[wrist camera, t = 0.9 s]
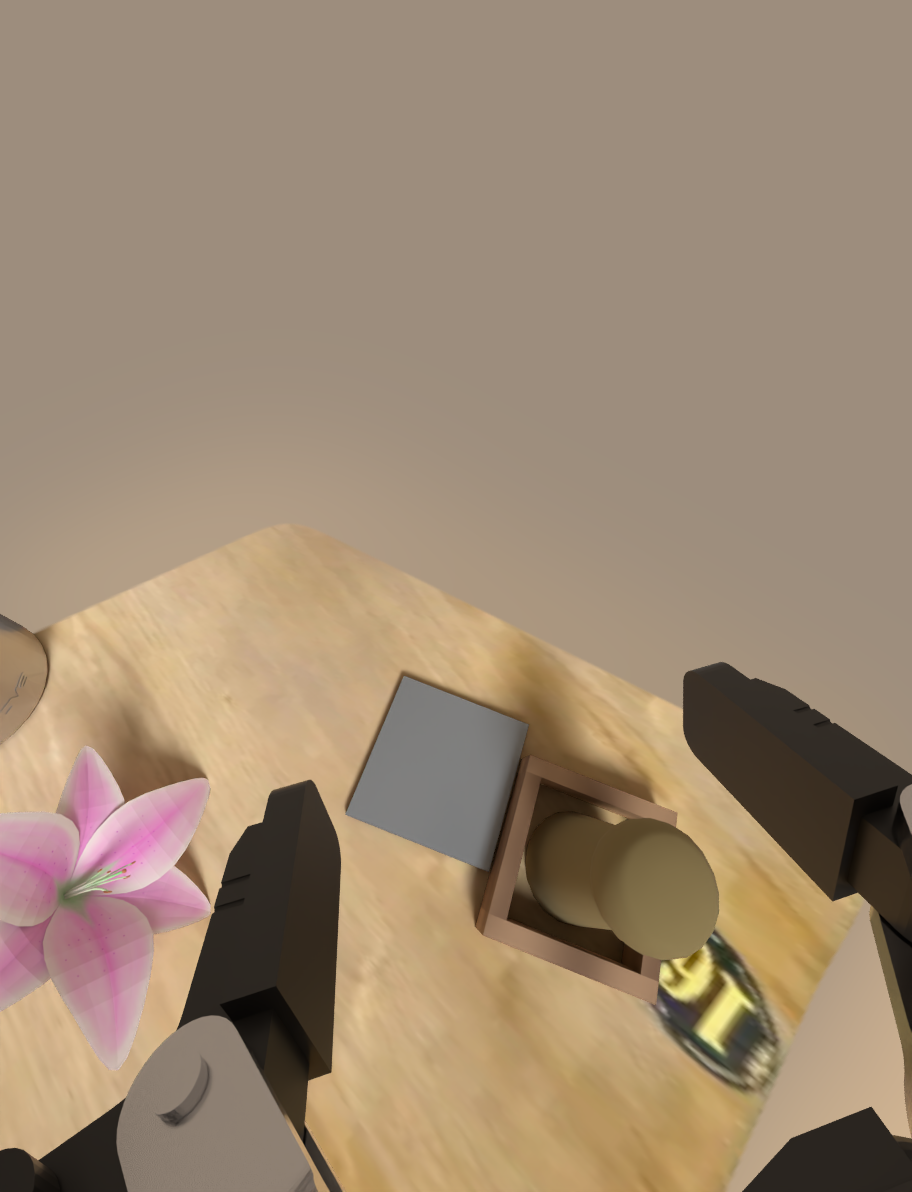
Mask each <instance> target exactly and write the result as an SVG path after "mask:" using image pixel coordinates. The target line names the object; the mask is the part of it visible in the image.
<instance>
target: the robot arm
mask: <svg viewBox="0 0 912 1192" xmlns="http://www.w3.org/2000/svg"><path fill="white" fill-rule="evenodd" d="M46 677H47V659H46V655H45V652H44V650H43V647H42V644H41V643H40V642H39V641H38V639H37V638H36V637H35V636H34V634H33V633H31V632H30V631H28V630H27V629H26V628H24V627H23V626H21V625H19V624H17V623H16V622H14V621H12V620H10V619H8V618H7V617H5V616H3V615H1V614H0V744H1V743H2V742H4V741H5V740H6V739H7V738H9V737H10V736H11V735H12V734H14V733H15V732H16V730H17V729H18V728H19V727H20V726H21V725H22V724H23V723H24V722H25V721H26V720H27V719H28V717H29V716H30V714H31V713H32V711H33V710H34V708H35V707H36V705H37V704H38V702H39V699H40V697H41V695H42V692H43V690H44V687H45V683H46ZM683 730H684V734H685V738H686V741H687V743H688V745H689V747H690V749H691V750H692V752H693V753H694V755H695V756H696V757H697V758H698V759H699V760H700V761H701V763H702V764H703V765H704V766H705V767H706V768H707V769H708V770H709V771H710V772H711V773H712V774H713V775H714V776H715V777H716V778H717V779H718V781H719V782H720V783H721V784H722V785H723V786H724V787H725V788H726V789H727V790H728V791H729V792H730V793H731V794H732V795H733V796H734V797H735V799H736V800H737V801H738V802H739V803H740V804H741V805H742V806H743V807H744V808H745V809H746V810H747V811H748V812H749V813H750V814H751V815H752V817H753V818H754V819H755V820H756V821H757V822H758V823H759V824H760V825H761V826H762V827H763V828H764V829H765V830H766V831H767V832H768V833H769V835H770V836H771V837H772V838H773V839H774V840H775V841H776V842H777V843H778V844H779V845H780V846H781V847H782V848H783V849H784V850H785V852H786V853H787V854H788V855H789V856H790V857H791V858H792V859H793V860H794V861H795V862H796V863H797V864H798V865H799V866H800V867H801V868H802V870H803V871H804V872H805V873H806V874H807V875H808V876H809V877H810V878H811V879H812V880H813V881H814V882H815V883H816V884H817V885H818V886H819V888H820V889H821V890H822V891H823V892H824V893H825V894H826V895H827V896H828V897H829V898H830V899H831V900H832V901H835V900H838V899H841V898H844V897H847V896H849V895H852V894H855V893H859V894H860V895H861V896H862V897H863V898H864V899H865V900H866V901H867V902H868V903H869V904H870V905H871V907H870V914H869V915H870V922H871V926H872V930H873V934H874V937H875V941H876V945H877V949H878V953H879V957H880V961H881V965H882V969H883V973H884V976H885V981H886V985H887V989H888V993H889V997H890V1000H891V1004H892V1008H893V1012H894V1016H895V1020H896V1024H897V1028H898V1032H899V1036H900V1040H901V1044H902V1050H903V1056H904V1066H905V1067H904V1069H905V1073H904V1074H905V1075H904V1091H905V1102H906V1111H907V1117H908V1123H909V1128H910V1133H911V1137H912V775H911V774H910V773H908V772H907V771H905V770H904V769H902V768H901V767H899V766H898V765H896V764H895V763H893V762H892V761H891V760H889V759H887V758H886V757H885V756H883V755H881V754H880V753H879V752H877V751H876V750H874V749H873V748H871V747H870V746H868V745H867V744H865V743H864V742H862V741H861V740H860V739H858V738H856V737H855V736H854V735H852V734H851V733H849V732H848V731H846V730H845V729H843V728H842V727H840V726H838V725H837V724H836V723H833V724H832V723H831V722H830V719H828V718H827V717H825V716H824V715H823V714H821V713H820V712H818V711H817V710H815V709H810V707H809V705H808V704H806V703H805V702H803V701H802V700H800V699H799V698H797V697H796V696H794V695H793V694H791V693H790V692H788V691H787V690H786V689H783V688H781V687H778V686H775V685H772V684H770V683H767V682H765V681H762V680H759V679H757V678H755V679H751V680H750V679H749V678H747V677H746V676H744V675H743V674H742V673H740V672H739V671H737V670H736V669H735V668H733V667H732V666H730V665H729V664H727V663H724V662H719V663H716V664H712V665H709V666H705V667H702V668H698V669H695V670H692V671H688V672H687V673H686V674H685V676H684V680H683ZM340 874H341V855H340V847H339V842H338V838H337V834H336V831H335V829H334V826H333V824H332V822H331V820H330V817H329V815H328V813H327V810H326V808H325V806H324V804H323V801H322V799H321V797H320V794H319V792H318V790H317V788H316V785H315V784H314V782H313V781H312V780H307V781H303V782H300V783H297V784H293V785H290V786H286V787H283V788H279V789H276V790H273V791H272V792H271V793H270V795H269V798H268V802H267V806H266V811H265V815H264V819H263V822H262V823H258V824H255V825H252V826H248V827H247V829H246V830H245V832H244V833H243V835H242V836H241V838H240V839H239V841H238V842H237V844H236V845H235V847H234V848H233V850H232V851H231V853H230V855H229V858H228V861H227V865H226V868H225V872H224V875H223V878H222V882H221V883H222V888H220V889H219V892H218V895H217V899H216V902H215V906H214V909H215V912H214V913H213V914H212V916H211V919H210V923H209V926H208V929H207V933H206V936H205V940H204V943H203V946H202V950H201V953H200V957H199V960H198V963H197V967H196V970H195V974H194V977H193V980H192V984H191V987H190V991H189V994H188V997H187V1001H186V1004H185V1008H184V1011H183V1014H182V1017H181V1020H180V1023H179V1026H178V1028H177V1030H176V1031H175V1032H174V1033H173V1034H172V1035H170V1036H169V1037H168V1038H167V1039H166V1040H165V1041H164V1042H163V1043H162V1044H161V1045H160V1046H159V1047H158V1048H157V1049H156V1050H155V1051H154V1053H153V1054H152V1055H151V1056H150V1058H149V1059H148V1060H147V1062H146V1063H145V1064H144V1066H143V1067H142V1069H141V1070H140V1072H139V1073H138V1075H137V1077H136V1078H135V1080H134V1082H133V1084H132V1086H131V1088H130V1090H129V1092H128V1094H127V1097H126V1098H125V1099H124V1100H122V1101H121V1102H120V1103H119V1104H117V1105H116V1106H115V1107H113V1108H112V1109H111V1110H109V1111H108V1112H107V1113H105V1114H104V1115H102V1116H101V1117H100V1118H98V1119H97V1120H95V1121H94V1122H92V1123H91V1124H90V1125H88V1126H87V1127H85V1128H84V1129H82V1130H81V1131H80V1132H78V1133H77V1134H75V1135H74V1136H73V1137H71V1138H70V1139H68V1140H67V1141H65V1142H64V1143H63V1144H61V1145H60V1146H58V1147H57V1148H55V1149H54V1150H53V1151H51V1152H50V1153H48V1154H47V1155H46V1156H44V1157H43V1158H41V1159H40V1160H37V1159H35V1158H34V1157H32V1156H31V1155H30V1154H28V1153H27V1152H25V1151H24V1150H21V1149H18V1148H10V1149H4V1150H1V1151H0V1192H346V1191H345V1189H344V1187H343V1186H342V1184H341V1182H340V1180H339V1179H338V1177H337V1175H336V1173H335V1172H334V1170H333V1168H332V1166H331V1165H330V1163H329V1161H328V1159H327V1158H326V1156H325V1154H324V1152H323V1151H322V1149H321V1147H320V1145H319V1144H318V1142H317V1140H316V1138H315V1137H314V1135H313V1133H312V1131H311V1130H310V1128H309V1126H308V1124H307V1122H306V1121H305V1112H306V1099H307V1087H308V1080H311V1079H314V1078H317V1077H320V1076H323V1075H326V1074H328V1073H331V1069H332V1047H333V1025H334V1004H335V982H336V961H337V939H338V917H339V896H340ZM742 1192H912V1139H911V1138H906V1137H900V1136H895V1135H892V1134H891V1133H890V1132H889V1130H888V1129H887V1128H886V1126H885V1125H884V1123H883V1122H882V1121H881V1119H880V1118H879V1117H878V1115H877V1114H876V1113H875V1111H874V1110H873V1108H872V1107H869V1108H867V1109H864V1110H862V1111H859V1112H857V1113H854V1114H852V1115H849V1116H846V1117H844V1118H842V1119H839V1120H836V1121H834V1122H832V1123H829V1124H826V1125H824V1126H821V1127H819V1128H816V1129H814V1130H811V1131H809V1132H806V1133H804V1134H801V1135H798V1136H796V1137H793V1138H791V1139H790V1140H789V1141H788V1142H787V1143H786V1144H785V1145H784V1147H783V1148H782V1149H781V1150H780V1151H779V1152H778V1153H777V1154H776V1155H775V1156H774V1158H773V1159H772V1160H771V1161H770V1162H769V1163H768V1164H767V1165H766V1166H765V1167H764V1169H763V1170H762V1171H761V1172H760V1173H759V1174H758V1175H757V1176H756V1177H755V1178H754V1179H753V1181H752V1182H751V1183H750V1184H749V1185H748V1186H747V1187H746V1188H745V1189H744V1190H743V1191H742Z"/></svg>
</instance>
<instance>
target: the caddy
mask: <svg viewBox="0 0 912 1192" xmlns="http://www.w3.org/2000/svg"><path fill="white" fill-rule="evenodd" d="M540 784H543V785H545V786H548V787H550V788H553V789H555V790H558V791H560V792H563V793H565V794H568V795H570V796H573V797H575V798H578V799H581V800H583V801H586V802H588V803H591V804H593V805H596V806H598V807H601V808H603V809H606V810H608V811H611V812H613V813H616V814H618V815H621V816H624V817H626V818H629V819H638V818H652V819H656V820H659V821H663V822H666V823H669V824H671V825H673V826H674V827H676V822H677V812H674V811H672V810H669V809H667V808H664V807H662V806H659V805H657V804H654V803H651V802H649V801H646V800H644V799H641V798H639V797H636V796H634V795H631V794H629V793H626V792H624V791H621V790H618V789H616V788H613V787H611V786H608V785H606V784H603V783H601V782H598V781H596V780H593V779H591V778H588V777H585V776H583V775H580V774H578V773H575V772H573V771H570V770H568V769H565V768H563V767H560V766H558V765H555V764H552V763H550V762H547V761H545V760H542V759H540V758H537V757H535V756H532V755H529V756H527V757H525V758H522V759H521V761H520V764H519V768H518V772H517V775H516V779H515V783H514V786H513V790H512V794H511V797H510V801H509V805H508V808H507V812H506V816H505V819H504V823H503V827H502V830H501V834H500V838H499V841H498V845H497V849H496V853H495V856H494V860H493V864H492V867H491V871H490V875H489V878H488V882H487V886H486V889H485V893H484V897H483V900H482V904H481V908H480V911H479V915H478V919H477V922H476V926H475V927H476V928H477V929H478V930H479V931H480V933H481V934H482V935H484V936H486V937H489V938H491V939H493V940H496V941H498V942H501V943H503V944H506V945H508V946H511V947H513V948H516V949H518V950H521V951H523V952H526V953H528V954H531V955H533V956H536V957H538V958H541V959H543V960H546V961H548V962H550V963H553V964H555V965H558V966H560V967H563V968H565V969H568V970H570V971H573V972H575V973H578V974H580V975H583V976H585V977H588V978H590V979H593V980H595V981H598V982H600V983H602V984H605V985H607V986H610V987H612V988H615V989H617V990H620V991H622V992H625V993H627V994H630V995H632V996H635V997H637V998H640V999H642V1000H645V1001H647V1002H650V1003H652V1004H655V1005H656V1000H657V991H658V982H659V973H660V965H661V960H660V959H656V958H653V957H649V956H646V955H642V954H640V953H639V952H637V951H635V950H634V949H632V948H631V947H630V946H628V945H627V944H625V943H624V950H623V956H622V963H619V962H617V961H614V960H612V959H609V958H607V957H604V956H602V955H599V954H597V953H594V952H592V951H589V950H587V949H584V948H582V947H580V946H577V945H575V944H572V943H570V942H567V941H565V940H562V939H560V938H557V937H555V936H552V935H550V934H547V933H545V932H542V931H540V930H537V929H535V928H532V927H530V926H527V925H525V924H522V923H520V922H517V921H515V920H512V919H510V918H507V916H508V912H509V908H510V904H511V900H512V895H513V891H514V887H515V883H516V879H517V875H518V871H519V867H520V863H521V859H522V855H523V851H524V847H525V843H526V839H527V835H528V831H529V827H530V823H531V819H532V815H533V811H534V806H535V802H536V798H537V794H538V790H539V786H540Z"/></svg>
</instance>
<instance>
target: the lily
mask: <svg viewBox="0 0 912 1192" xmlns="http://www.w3.org/2000/svg"><path fill="white" fill-rule="evenodd" d="M209 793H210V785H209V781H208V779H206V778H194V779H190V780H186V781H182V782H178V783H175V784H172V785H168V786H165V787H162V788H159V789H156V790H153V791H150V792H148V793H145V794H143V795H141V796H139V797H137V798H135V799H133V800H130V801H128V802H127V803H126V804H125V801H124V798H123V796H122V793H121V791H120V788H119V786H118V784H117V782H116V780H115V779H114V777H113V775H112V773H111V772H110V770H109V768H108V767H107V765H106V764H105V763H104V761H103V760H102V758H101V757H100V756H99V755H98V753H97V752H96V751H95V750H94V749H93V748H91V747H89V746H87V745H86V746H85V747H83V748H82V749H81V750H80V752H79V754H78V756H77V758H76V760H75V762H74V765H73V767H72V769H71V772H70V774H69V776H68V779H67V782H66V784H65V787H64V790H63V792H62V795H61V798H60V801H59V804H58V808H57V811H56V813H49V812H14V813H0V1012H1V1011H3V1010H4V1009H6V1008H8V1007H9V1006H11V1005H13V1004H14V1003H16V1002H18V1001H19V1000H21V999H22V998H24V997H25V996H27V995H28V994H30V993H31V992H33V991H34V990H36V989H37V988H39V987H40V986H41V985H43V984H44V983H45V982H46V981H48V980H49V979H50V978H51V980H52V981H53V983H54V985H55V987H56V989H57V990H58V992H59V994H60V996H61V998H62V999H63V1001H64V1002H65V1004H66V1006H67V1007H68V1009H69V1010H70V1012H71V1014H72V1015H73V1017H74V1019H75V1020H76V1022H77V1024H78V1025H79V1027H80V1029H81V1031H82V1032H83V1034H84V1036H85V1038H86V1039H87V1041H88V1042H89V1044H90V1046H91V1047H92V1049H93V1050H94V1052H95V1054H96V1055H97V1057H98V1058H99V1060H100V1061H101V1062H102V1063H103V1064H104V1065H105V1066H106V1067H107V1068H108V1069H109V1070H119V1068H120V1067H121V1066H122V1064H123V1063H124V1061H125V1060H126V1059H127V1057H128V1054H129V1051H130V1049H131V1046H132V1043H133V1041H134V1038H135V1036H136V1032H137V1028H138V1025H139V1021H140V1018H141V1014H142V1010H143V1007H144V1003H145V998H146V993H147V989H148V984H149V980H150V975H151V968H152V961H153V954H154V943H153V934H158V933H163V932H167V931H171V930H174V929H178V928H181V927H184V926H187V925H190V924H193V923H195V922H198V921H200V920H202V919H204V918H206V917H208V916H209V915H210V913H211V912H210V907H211V905H210V903H209V901H208V900H207V898H206V896H205V895H204V894H203V893H202V892H201V890H200V889H199V888H198V887H197V886H196V885H195V884H194V883H193V882H192V881H191V880H190V879H189V878H188V877H187V876H186V875H185V874H184V873H183V872H181V871H180V870H179V869H177V868H176V867H175V866H174V865H175V864H176V862H177V861H178V860H179V858H180V857H181V855H182V854H183V853H184V851H185V850H186V848H187V847H188V845H189V843H190V841H191V839H192V837H193V835H194V833H195V831H196V829H197V826H198V824H199V822H200V819H201V817H202V815H203V812H204V809H205V806H206V803H207V801H208V797H209Z"/></svg>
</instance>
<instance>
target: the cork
mask: <svg viewBox="0 0 912 1192" xmlns="http://www.w3.org/2000/svg"><path fill="white" fill-rule="evenodd" d="M525 864H526V873H527V880H528V883H529V885H530V888H531V890H532V893H533V896H534V897H535V899H536V900H537V901H538V903H539V904H540V905H541V907H542V908H543V909H544V911H545V912H547V913H548V914H549V915H551V916H552V917H554V918H555V919H556V920H558V921H560V922H563V923H567V924H570V925H574V926H582V927H590V928H599V929H607V930H612V931H613V932H614V934H615V935H616V936H617V937H618V939H620V940H621V941H623V942H624V943H625V944H627V945H628V946H630V947H631V948H632V949H634V950H635V951H637V952H639V953H640V954H642V955H646V956H649V957H653V958H656V959H660V960H670V959H678V958H686V957H688V956H690V955H691V954H693V953H695V952H696V951H698V950H699V949H701V948H702V947H703V945H704V944H705V943H706V941H707V940H708V938H709V937H710V935H711V934H712V933H713V931H714V928H715V924H716V921H717V917H718V914H719V892H718V888H717V884H716V880H715V876H714V873H713V871H712V869H711V867H710V865H709V863H708V861H707V859H706V858H705V856H704V854H703V852H702V851H701V850H700V848H699V847H698V846H697V845H696V844H695V843H694V842H693V840H692V839H691V838H690V837H689V836H688V835H686V834H685V833H683V832H682V831H680V830H679V829H677V828H676V827H674V826H673V825H671V824H669V823H666V822H663V821H659V820H656V819H652V818H638V819H627V820H625V821H623V822H621V823H619V824H617V825H613V824H610V823H607V822H604V821H601V820H598V819H595V818H592V817H589V816H586V815H583V814H579V813H576V812H558V813H556V814H554V815H552V816H550V817H548V818H546V819H545V820H544V821H543V822H542V823H541V824H540V825H539V826H538V827H537V828H536V829H535V830H534V832H533V834H532V836H531V839H530V841H529V843H528V846H527V853H526V859H525Z"/></svg>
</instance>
